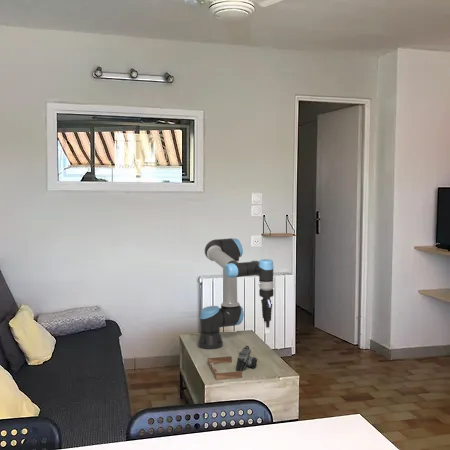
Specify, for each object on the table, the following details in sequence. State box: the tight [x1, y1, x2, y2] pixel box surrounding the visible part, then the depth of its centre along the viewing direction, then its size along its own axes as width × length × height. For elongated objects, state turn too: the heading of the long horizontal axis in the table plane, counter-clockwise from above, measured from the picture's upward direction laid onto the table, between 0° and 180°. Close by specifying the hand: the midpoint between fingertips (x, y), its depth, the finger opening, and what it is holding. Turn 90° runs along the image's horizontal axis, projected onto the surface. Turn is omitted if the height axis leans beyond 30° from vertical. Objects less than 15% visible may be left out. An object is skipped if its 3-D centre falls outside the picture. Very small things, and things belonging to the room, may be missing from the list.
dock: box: [207, 356, 243, 381], centre depth 273 cm, size 25×13×4 cm, turn 12°
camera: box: [235, 345, 258, 372], centre depth 276 cm, size 18×9×10 cm, turn 167°
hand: (267, 332), depth 276 cm, fingers closed
